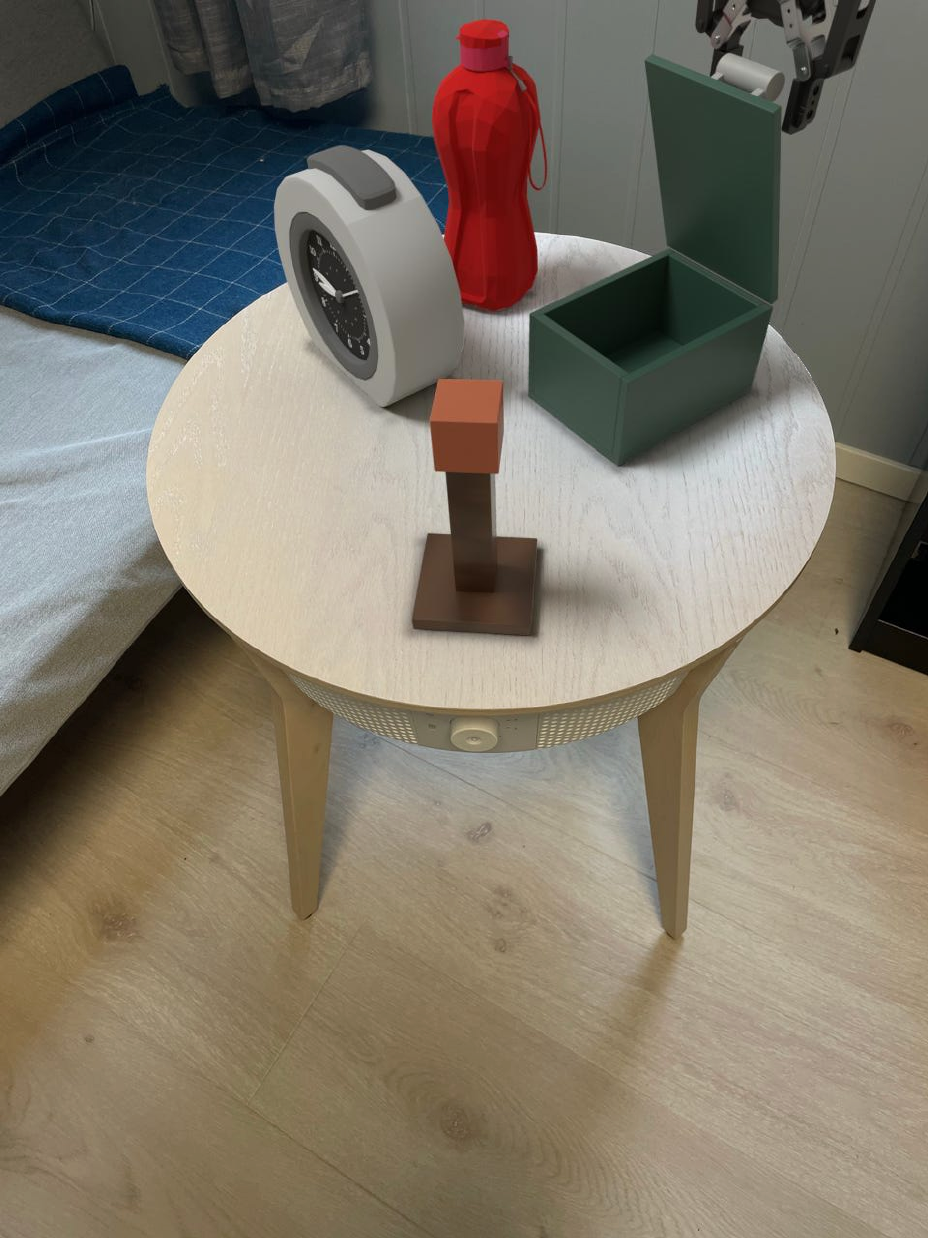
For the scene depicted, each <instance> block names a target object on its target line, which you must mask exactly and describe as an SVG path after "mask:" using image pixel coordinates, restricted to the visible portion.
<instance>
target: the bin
mask: <svg viewBox="0 0 928 1238" xmlns="http://www.w3.org/2000/svg"><path fill="white" fill-rule="evenodd" d="M773 310H774V306H773V305H772V304H770V303H768V302H766V301H765V300H763V299H761V298H759V297H757V296H756V295H754V294H752V293H750V292H749V291H747V290H745V289H743V288H741V287H740V286H738V285H736V284H734V283H733V282H731V281H729V280H727V279H725V278H724V277H722V276H720V275H718V274H717V273H715V272H713V271H711V270H709V269H708V268H706V267H704V266H702V265H701V264H699V263H697V262H695V261H694V260H692V259H690V258H688V257H686V256H685V255H683V254H681V253H679V252H678V251H676V250H674V249H672V248H670V247H669V248H666V249H664V250H662V251H659V252H658V253H654V255H651V256H649V257H647V258H645V259H642V260H641V261H638V262H636V263H634V264H631V265H630V266H627V267H625V268H623V269H621V270H618V271H617V272H615V273H613V274H610V275H609V276H606V277H604V278H602V279H600V280H598V281H595V282H594V283H593V282H592V283H591V284H589V285H586V286H585V287H583V288H581V289H578V290H576V291H574V292H571V293H570V294H567V295H565V296H564V297H561V298H559V299H557V300H555V301H553V302H550V303H547V304H546V305H544V306H543V307H540V308H538V309H536V310H533V311H531V312H530V313H529V314H528V315H529V319H528V322H529V323H528V379H527V396H528V397H529V398H531V400H533V401H534V402H535V403H536V404H538V406H540V407H541V408H543V409H544V410H545V411H547V412H548V413H549V414H550V415H552V416H553V417H554V418H555V419H557V420H558V421H559V422H560V423H562V425H564V426H566V428H568V429H569V430H571V431H572V432H573V433H574V434H576V435H577V436H578V437H580V438H581V439H582V440H583V441H585V443H587V444H588V445H590V446H591V447H592V448H593V449H595V450H596V451H597V452H599V453H600V454H601V455H603V456H604V457H605V458H606V459H608V460H609V461H610V462H611V463H613V464H614V465H615V466H617V467H620V466H622V465H623V464H625V463H627V462H629V461H630V460H632V459H634V458H636V457H638V456H640V455H641V454H643V453H645V452H646V451H648V450H650V449H652V448H653V447H655V446H657V445H660V444H661V443H663V442H665V441H666V440H667V439H669V438H671V437H674V436H675V435H676V434H678V433H680V432H682V431H683V430H685V429H687V428H688V427H691V426H692V425H694V424H695V423H697V422H699V421H701V420H704V418H707V417H708V416H710V415H712V414H714V413H715V412H717V411H719V410H721V409H722V408H724V407H725V406H728V405H729V404H731V403H733V402H735V401H736V400H738V399H740V398H742V397H744V396H745V395H747V394H749V393H751V391H752V390H753V385H754V381H755V377H756V374H757V371H758V367H759V363H760V359H761V355H762V351H763V348H764V344H765V340H766V336H767V332H768V330H769V329H768V328H769V324H770V321H771V317H772V313H773Z"/></svg>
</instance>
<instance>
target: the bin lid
mask: <svg viewBox="0 0 928 1238" xmlns="http://www.w3.org/2000/svg"><path fill="white" fill-rule="evenodd" d="M644 69H645V76H646V83H647V93H648V101H649V110H650V117H651V126H652V131H653V132H652V134H653V141H654V150H655V159H656V167H657V175H658V176H657V177H658V183H659V191H660V200H661V201H660V202H661V209H662V217H663V225H664V233H665V241H666V242H665V243H666V246H667V247H669V248H670V249H671V250H673V251H675V252H677V253H679V254H680V255H682V256H684V257H686V258H687V259H689V260H691V261H693V262H695V263H696V264H698V265H700V266H702V267H703V268H705V269H707V270H709V271H710V272H712V273H714V274H716V275H718V276H719V277H721V278H723V279H725V280H726V281H728V282H730V283H732V284H734V285H735V286H737V287H739V288H741V289H742V290H744V291H746V292H748V293H749V294H751V295H753V296H755V297H757V298H758V299H760V300H762V301H764V302H765V303H767V304H769V305H773V304H774V303H775V302H777V301H778V300H779V268H780V267H779V266H780V219H781V217H780V216H781V213H780V212H781V173H782V172H781V170H782V169H781V164H782V162H781V161H782V120H783V119H782V118H783V117H782V115H783V112H782V111H783V107H782V105H780V104H777V103H775V101H776V100H777V99H778V98H779V96H781V94H782V93H783V89H784V86H785V83H786V76H785V74H784V72H783V71H780V70H777V69H774V68H772V67H769V66H766V65H764V64H761V63H758V62H756V61H753V60H750V59H747V58H745V57H743V56H742V57H740V56H737V55H735V54H732V53H728V54H726V55H724V56H723V57H722V58H721V60H720V61H719V63H718V65H717V68H716V73H715V74H714V75H713V76H712V77H710V76H708V75H705V74H703V73H701V72H698V71H696V70H693V69H691V68H688V67H686V66H683V65H681V64H678V63H676V62H673V61H671V60H669V59H666V58H663V57H661V56H658V55H656V54H653V53H650V54H649V55H648V56H647V57H646V58H645V59H644Z"/></svg>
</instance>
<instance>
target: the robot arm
mask: <svg viewBox="0 0 928 1238" xmlns="http://www.w3.org/2000/svg"><path fill="white" fill-rule="evenodd" d="M876 2H877V0H832V5H833V7H834V8H835V11H834V14H833V15H832V7H831V1H830V0H697V4H696V13H695V23H694V26H695V30H696V31H697V33H698V34H705V35H706V36H707V37H708V38H709V39H710V44H711V46H712V48H713V51H712V59H711V65H710V71H709V77H712V76H713V75H714V74H715V73H716V68H717V65H718V63H719V61H720V60H721V58H722V57H723V56H724V55H726V54H728V53H732V54H735V55H737V56H740V57H743V54H744V48H745V45H743V44H741V43H740V42H741V41H742V40H743V39H744V38H745V36H746V35H747V33H748V32H749V31H750V29H751V27H752V26H753V24H754V23H755V21H756V20H768V21H770V22H771V23H773V25H775V26H777V27H780V28H783V31H784V38H785V43H786V46H787V47H788V48H790V49H791V50H792V56H793V64H794V71H795V76H796V77H795V78H792V81H791V85H790V90H789V94H788V99H787V103H786V107H785V111H784V115H783V119H782V123H781V133H785V134H787V135H789V136H792V135H794V134H796V133H799V132H801V131H803V130H805V129H806V128H807V126H808V125H810V124H812V123H813V121H814V119H815V117H816V115H817V110H818V106H819V102H820V98H821V96H822V95H821V94H822V91H823V87H824V83H825V80H828V79H830V78H833V77H835V76H838V75H840V74H842V73H845V72H847V71H849V70H852V69H853V68H855V65H856V63H857V60H858V57H859V54H860V50H861V48H862V45H863V42H864V39H865V36H866V32H867V30H868V26H869V23H870V21H871V17H872V14H873V12H874V8H875V5H876ZM810 17H811V24H810V26H806V25H805V23H804V21H806V20H807V19H809V18H810Z"/></svg>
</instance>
